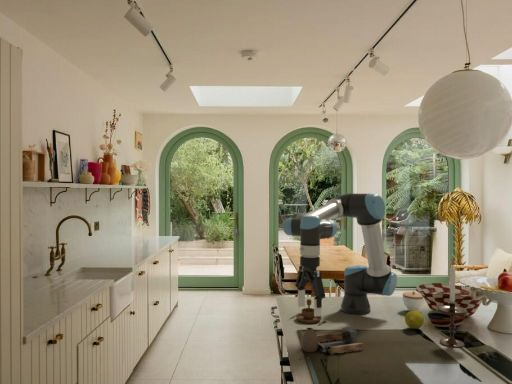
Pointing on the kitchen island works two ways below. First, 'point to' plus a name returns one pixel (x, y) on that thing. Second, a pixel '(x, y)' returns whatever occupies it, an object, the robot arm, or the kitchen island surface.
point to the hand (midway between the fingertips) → (309, 311)
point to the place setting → (308, 315)
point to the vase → (309, 340)
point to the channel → (342, 347)
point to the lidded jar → (413, 300)
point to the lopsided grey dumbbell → (347, 338)
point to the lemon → (414, 319)
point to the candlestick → (452, 313)
